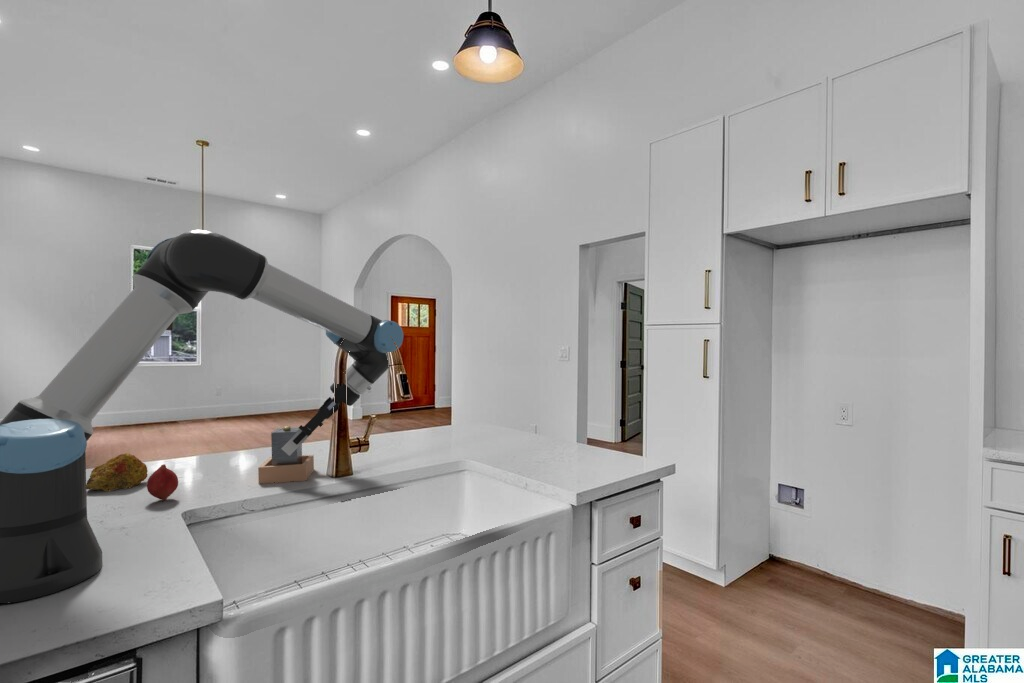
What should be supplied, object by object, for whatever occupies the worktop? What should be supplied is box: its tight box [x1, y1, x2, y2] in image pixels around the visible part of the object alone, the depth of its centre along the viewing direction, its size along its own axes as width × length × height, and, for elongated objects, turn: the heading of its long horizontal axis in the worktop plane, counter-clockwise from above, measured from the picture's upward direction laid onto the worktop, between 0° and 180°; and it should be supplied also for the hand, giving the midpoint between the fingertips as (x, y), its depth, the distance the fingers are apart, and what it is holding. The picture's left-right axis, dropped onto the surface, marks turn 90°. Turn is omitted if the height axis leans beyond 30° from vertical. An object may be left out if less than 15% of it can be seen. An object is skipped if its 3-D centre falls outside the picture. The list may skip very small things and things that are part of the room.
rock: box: [86, 452, 149, 492], centre depth 126 cm, size 11×8×10 cm
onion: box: [146, 463, 179, 501], centre depth 115 cm, size 6×6×8 cm
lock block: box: [270, 425, 303, 466], centre depth 133 cm, size 6×6×12 cm
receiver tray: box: [257, 454, 315, 484], centre depth 133 cm, size 11×11×4 cm
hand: (291, 446), depth 134 cm, fingers open, 13 cm apart
